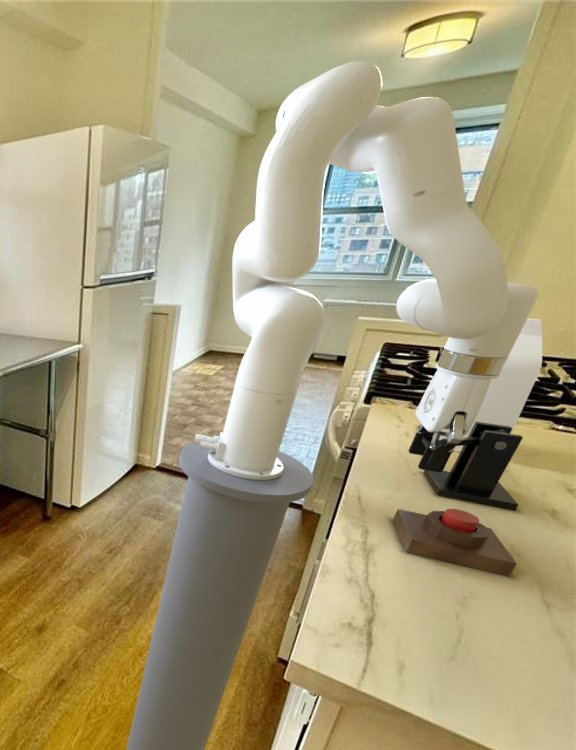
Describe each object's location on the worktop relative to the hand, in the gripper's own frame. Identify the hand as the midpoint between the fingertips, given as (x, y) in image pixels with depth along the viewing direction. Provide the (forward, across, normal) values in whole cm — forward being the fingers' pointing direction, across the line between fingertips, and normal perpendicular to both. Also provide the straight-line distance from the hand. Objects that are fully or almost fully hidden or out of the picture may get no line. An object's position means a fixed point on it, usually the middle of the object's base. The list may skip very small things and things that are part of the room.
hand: (424, 461), depth 86 cm
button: (0, +22, -1) cm, 22 cm away
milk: (+4, -25, +12) cm, 28 cm away
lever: (-3, 0, +4) cm, 5 cm away
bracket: (+4, 0, +7) cm, 8 cm away
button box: (+4, +22, -1) cm, 22 cm away
